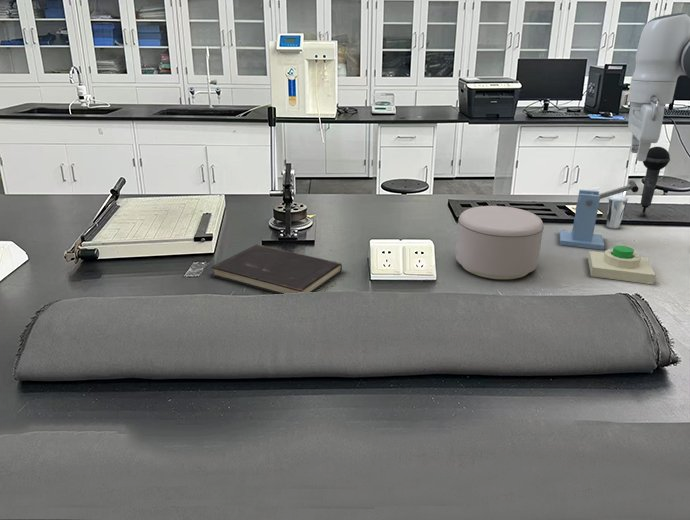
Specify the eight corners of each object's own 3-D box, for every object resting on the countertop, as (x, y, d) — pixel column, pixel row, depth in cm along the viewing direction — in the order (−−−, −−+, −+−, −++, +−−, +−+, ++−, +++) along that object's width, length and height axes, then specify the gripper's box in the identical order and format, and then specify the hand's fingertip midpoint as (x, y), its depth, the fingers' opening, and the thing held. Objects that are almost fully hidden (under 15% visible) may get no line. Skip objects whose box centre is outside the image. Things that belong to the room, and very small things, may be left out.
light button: (631, 254, 117) (632, 246, 116) (633, 260, 113) (635, 253, 113) (611, 251, 118) (612, 244, 117) (613, 258, 114) (614, 250, 114)
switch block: (645, 266, 120) (649, 250, 118) (653, 284, 111) (657, 266, 109) (587, 259, 123) (591, 243, 122) (590, 276, 115) (594, 259, 113)
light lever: (636, 186, 128) (633, 177, 127) (639, 193, 123) (637, 183, 122) (583, 202, 133) (580, 194, 133) (584, 209, 128) (581, 200, 127)
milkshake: (626, 226, 145) (634, 191, 141) (615, 230, 142) (623, 194, 138) (611, 222, 148) (618, 187, 144) (599, 226, 145) (606, 190, 142)
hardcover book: (301, 300, 104) (300, 290, 103) (212, 276, 114) (211, 266, 113) (342, 271, 116) (342, 262, 116) (258, 252, 127) (258, 243, 126)
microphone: (624, 213, 156) (639, 144, 149) (646, 212, 157) (662, 144, 149) (639, 220, 150) (655, 149, 142) (661, 219, 151) (678, 148, 143)
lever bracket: (601, 239, 136) (610, 190, 131) (603, 249, 129) (614, 199, 124) (559, 234, 139) (567, 186, 134) (559, 244, 132) (568, 195, 127)
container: (535, 287, 109) (543, 234, 105) (448, 275, 115) (452, 223, 110) (538, 256, 125) (545, 208, 120) (461, 246, 131) (465, 200, 126)
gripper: (676, 99, 108) (661, 166, 113) (658, 90, 125) (645, 149, 131) (641, 98, 110) (628, 164, 115) (629, 90, 127) (617, 147, 133)
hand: (637, 156), depth 123 cm, fingers open, 8 cm apart
